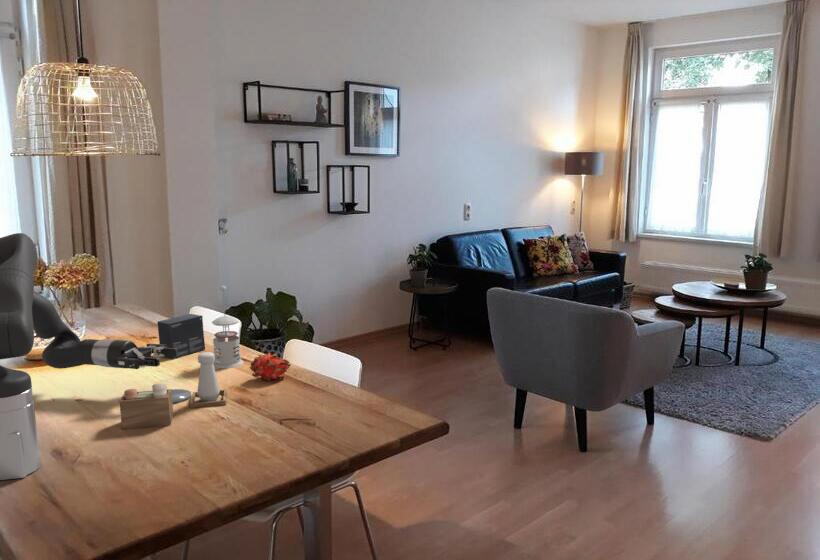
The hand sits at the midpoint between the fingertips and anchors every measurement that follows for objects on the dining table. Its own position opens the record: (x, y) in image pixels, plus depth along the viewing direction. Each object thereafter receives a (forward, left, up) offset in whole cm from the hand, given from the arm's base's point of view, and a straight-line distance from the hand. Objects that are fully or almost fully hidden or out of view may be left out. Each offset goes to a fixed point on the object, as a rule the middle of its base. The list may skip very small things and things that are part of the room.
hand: (168, 357), depth 176 cm
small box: (+43, +1, -11) cm, 44 cm away
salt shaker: (-5, -10, -11) cm, 16 cm away
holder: (-5, -10, -11) cm, 16 cm away
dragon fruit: (+9, -27, -11) cm, 30 cm away
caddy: (-17, +3, -11) cm, 21 cm away
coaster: (-1, 0, -11) cm, 11 cm away
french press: (+28, -14, -11) cm, 33 cm away
